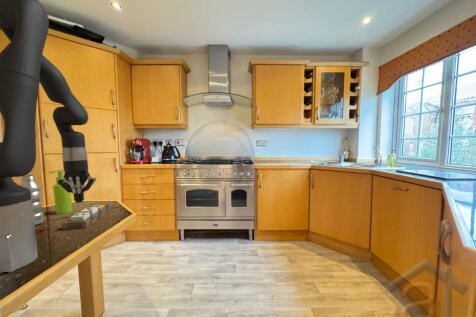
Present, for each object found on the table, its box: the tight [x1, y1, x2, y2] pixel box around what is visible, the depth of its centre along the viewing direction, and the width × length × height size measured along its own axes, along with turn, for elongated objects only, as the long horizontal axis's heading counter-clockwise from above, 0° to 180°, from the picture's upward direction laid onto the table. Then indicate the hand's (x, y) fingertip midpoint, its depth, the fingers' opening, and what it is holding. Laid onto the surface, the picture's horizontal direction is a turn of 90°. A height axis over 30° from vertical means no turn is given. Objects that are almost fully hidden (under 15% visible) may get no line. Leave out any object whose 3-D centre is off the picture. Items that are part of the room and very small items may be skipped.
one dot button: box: [90, 204, 106, 209], centre depth 94 cm, size 4×4×3 cm
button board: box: [62, 204, 112, 230], centre depth 88 cm, size 21×8×2 cm, turn 10°
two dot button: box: [70, 212, 90, 221], centre depth 81 cm, size 4×4×3 cm
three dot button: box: [79, 207, 98, 214], centre depth 87 cm, size 4×4×3 cm
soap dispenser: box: [49, 169, 73, 215], centre depth 95 cm, size 6×7×20 cm
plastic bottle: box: [19, 174, 45, 226], centre depth 81 cm, size 6×7×20 cm
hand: (79, 202), depth 81 cm, fingers closed
